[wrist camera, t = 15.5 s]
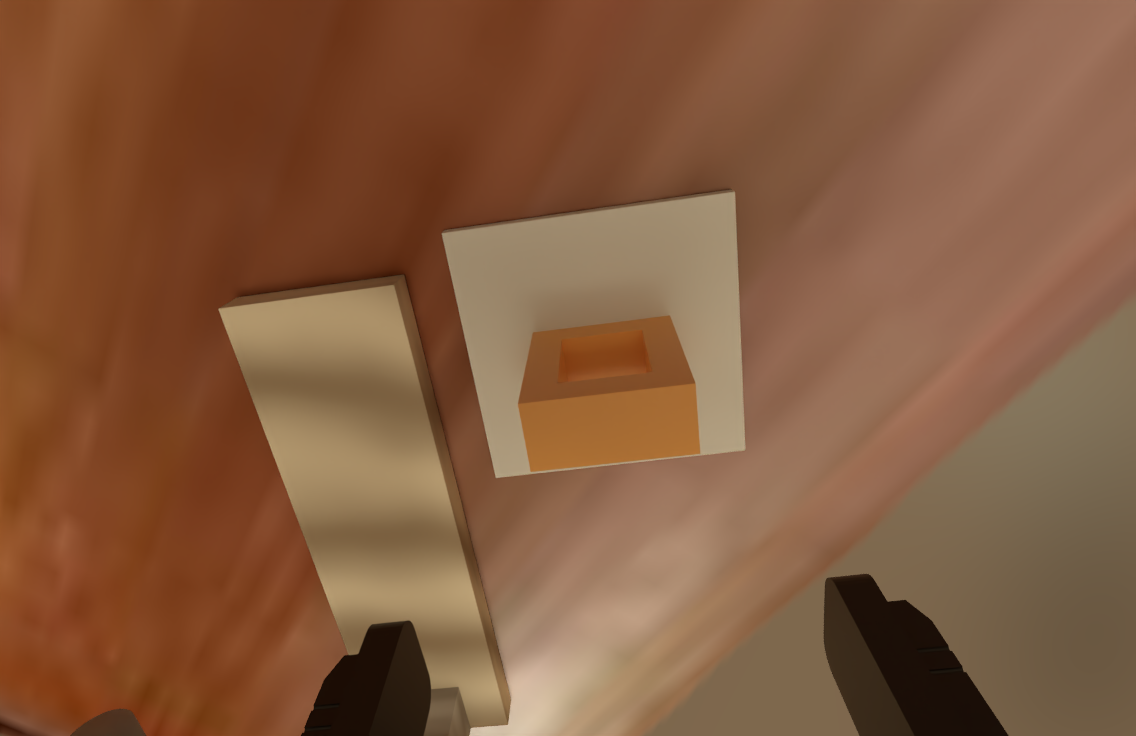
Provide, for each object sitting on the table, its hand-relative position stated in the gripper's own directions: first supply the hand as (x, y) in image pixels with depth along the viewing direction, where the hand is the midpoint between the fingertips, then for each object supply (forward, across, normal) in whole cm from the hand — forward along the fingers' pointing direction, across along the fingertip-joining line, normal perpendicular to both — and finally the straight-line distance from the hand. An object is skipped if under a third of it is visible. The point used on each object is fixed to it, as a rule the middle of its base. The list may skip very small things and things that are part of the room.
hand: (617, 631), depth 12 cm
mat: (+15, 0, 0) cm, 15 cm away
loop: (+15, 0, 0) cm, 15 cm away
